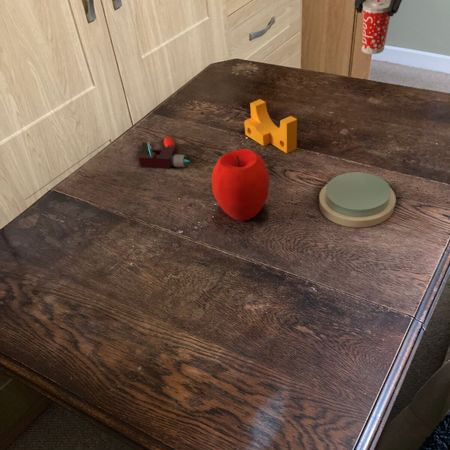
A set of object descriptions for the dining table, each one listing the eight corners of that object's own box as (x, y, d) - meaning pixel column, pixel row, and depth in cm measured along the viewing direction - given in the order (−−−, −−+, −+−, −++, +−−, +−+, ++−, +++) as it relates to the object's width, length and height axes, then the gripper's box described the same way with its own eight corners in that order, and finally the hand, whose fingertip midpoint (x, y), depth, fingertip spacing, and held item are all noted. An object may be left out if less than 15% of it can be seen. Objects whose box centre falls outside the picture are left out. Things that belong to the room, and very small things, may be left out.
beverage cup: (354, 46, 108) (361, -28, 98) (382, 42, 108) (391, -32, 98) (362, 57, 104) (370, -19, 94) (391, 53, 104) (402, -24, 94)
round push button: (406, 195, 88) (409, 181, 85) (374, 236, 81) (377, 222, 79) (339, 175, 93) (341, 161, 91) (305, 213, 87) (305, 199, 85)
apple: (236, 191, 93) (231, 132, 84) (281, 206, 89) (280, 145, 80) (205, 220, 88) (195, 161, 79) (251, 238, 84) (246, 177, 75)
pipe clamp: (245, 134, 107) (243, 106, 102) (261, 127, 108) (260, 99, 104) (280, 156, 100) (279, 127, 95) (296, 148, 101) (297, 119, 97)
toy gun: (189, 171, 99) (185, 149, 96) (133, 169, 102) (128, 148, 98) (200, 145, 106) (197, 124, 102) (148, 144, 108) (143, 123, 105)
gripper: (445, -60, 97) (411, 26, 99) (376, -63, 103) (345, 18, 106) (441, -88, 90) (405, 6, 93) (368, -89, 97) (335, -2, 99)
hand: (373, 12), depth 99 cm, fingers closed on beverage cup, 6 cm apart
